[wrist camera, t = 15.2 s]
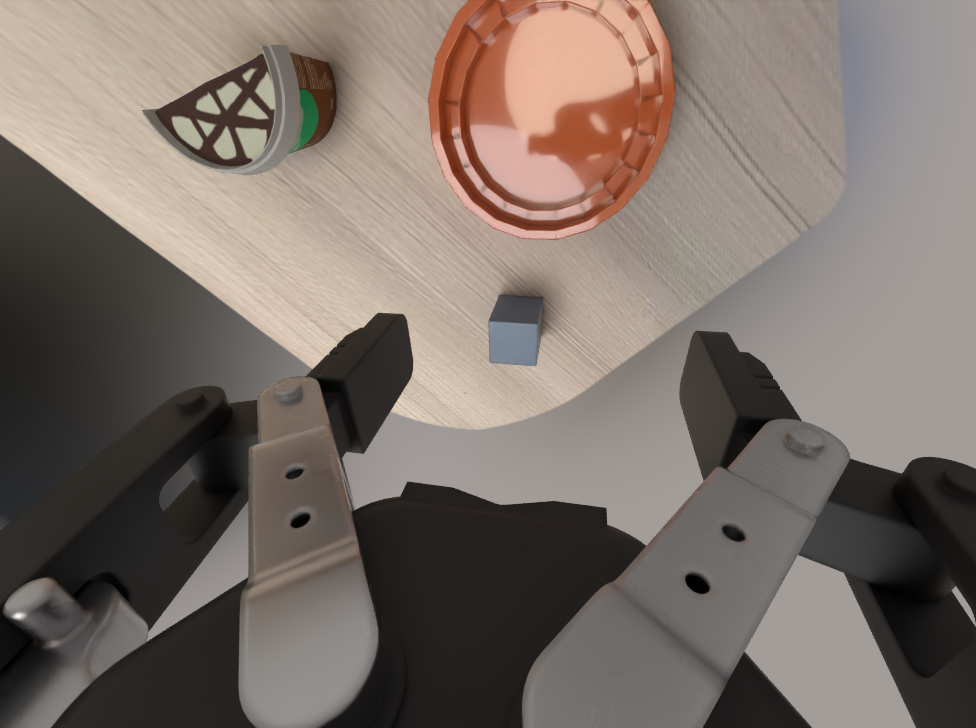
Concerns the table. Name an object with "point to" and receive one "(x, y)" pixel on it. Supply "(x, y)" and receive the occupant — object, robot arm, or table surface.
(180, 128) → the food container
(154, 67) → the table surface
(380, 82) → the table surface
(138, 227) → the table surface
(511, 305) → the block
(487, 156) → the bowl
